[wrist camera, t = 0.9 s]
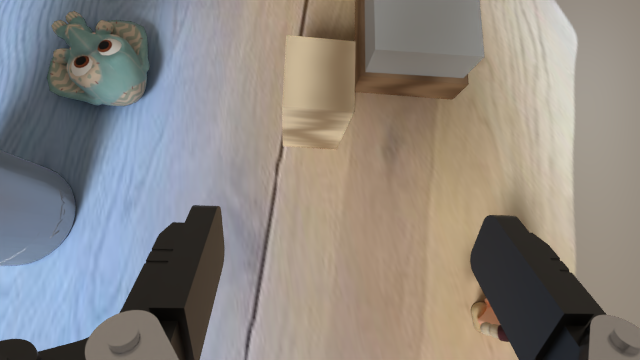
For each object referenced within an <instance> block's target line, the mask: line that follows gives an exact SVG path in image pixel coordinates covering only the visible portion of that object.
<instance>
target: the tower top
mask: <svg viewBox="0 0 640 360" xmlns="http://www.w3.org/2000/svg"><path fill="white" fill-rule="evenodd" d="M483 58H484V46H483V34H482V22H481V11H480V0H365V72H372V73H389V74H405V75H421V76H437V77H453V78H464V77H465V76H466V75H467V74H468V73H469V72H470V71H471V70H472V69H473V68H474V67H475V66H476V65H477V64H478V63H479V62H480V61H481V60H482V59H483Z"/></svg>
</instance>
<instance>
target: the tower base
mask: <svg viewBox="0 0 640 360" xmlns="http://www.w3.org/2000/svg"><path fill="white" fill-rule="evenodd" d="M355 41H356V43H355V92H363V93H376V94H389V95H402V96H415V97H428V98H441V99H453V98H454V97H456V96H457V95H458V94H459V93H460V92H461V91H462V90H463V89H464V88H465V87H466V86H467V85H468V74H467V75H466V76H465V77H464V78H453V77H437V76H421V75H405V74H389V73H372V72H365V0H356V1H355Z"/></svg>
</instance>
